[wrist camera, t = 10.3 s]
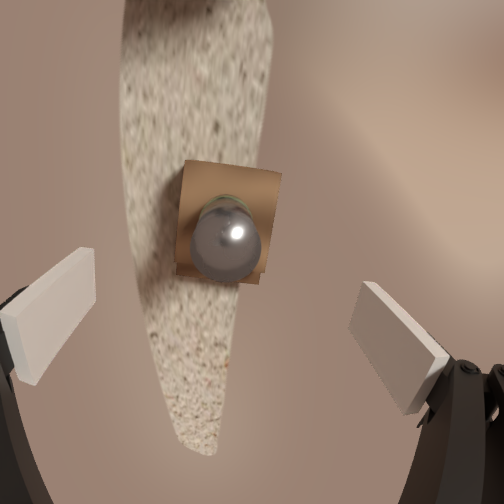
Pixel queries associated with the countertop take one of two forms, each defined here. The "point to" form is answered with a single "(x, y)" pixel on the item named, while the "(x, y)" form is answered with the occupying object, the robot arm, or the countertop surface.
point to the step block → (218, 183)
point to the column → (225, 240)
